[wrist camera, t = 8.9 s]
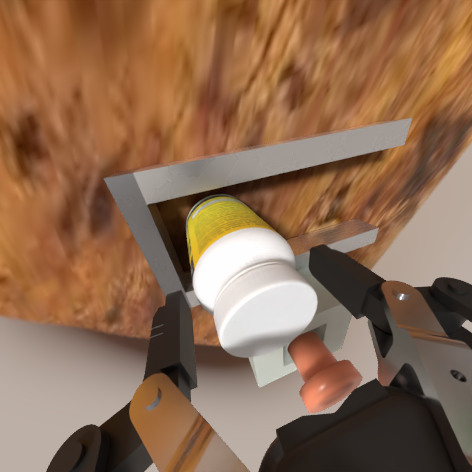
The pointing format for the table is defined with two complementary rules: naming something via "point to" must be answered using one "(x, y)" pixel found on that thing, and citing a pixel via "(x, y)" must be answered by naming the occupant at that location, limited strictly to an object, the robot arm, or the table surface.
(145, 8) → the table surface
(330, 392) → the plunger
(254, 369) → the plunger housing block
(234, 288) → the pill bottle
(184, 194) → the rail
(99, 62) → the table surface
